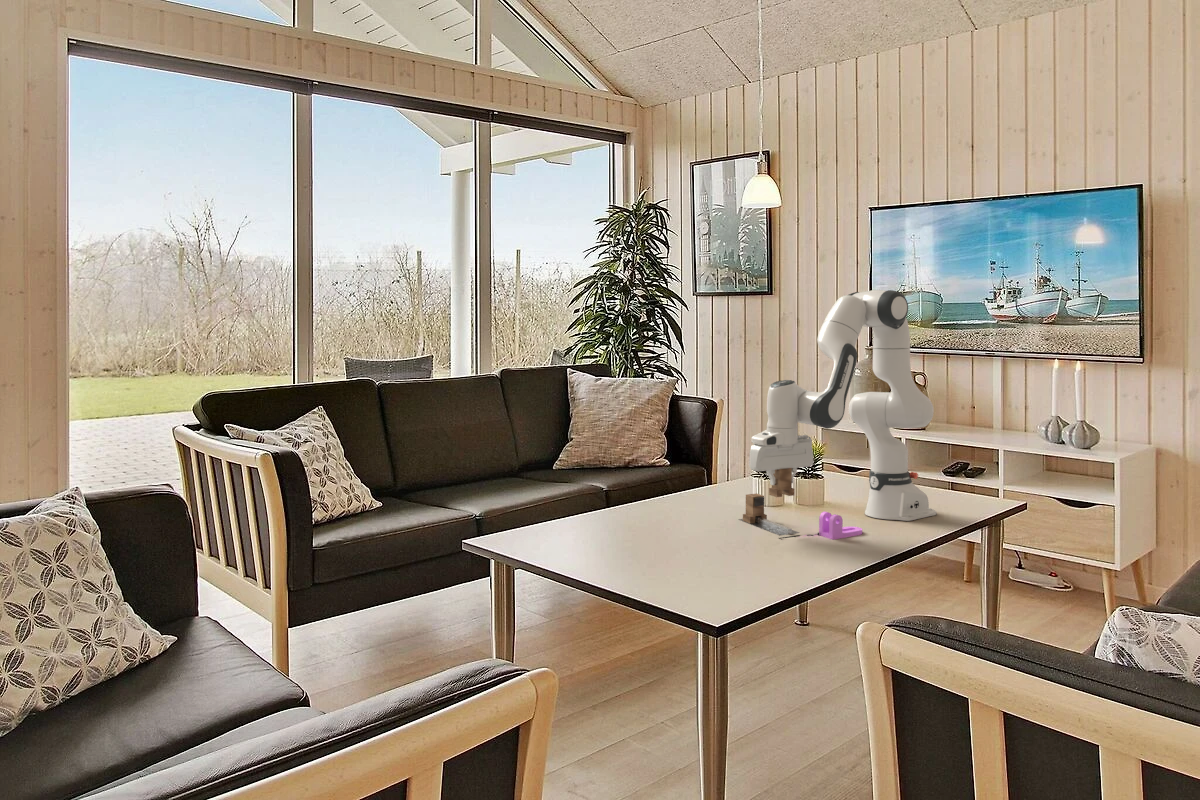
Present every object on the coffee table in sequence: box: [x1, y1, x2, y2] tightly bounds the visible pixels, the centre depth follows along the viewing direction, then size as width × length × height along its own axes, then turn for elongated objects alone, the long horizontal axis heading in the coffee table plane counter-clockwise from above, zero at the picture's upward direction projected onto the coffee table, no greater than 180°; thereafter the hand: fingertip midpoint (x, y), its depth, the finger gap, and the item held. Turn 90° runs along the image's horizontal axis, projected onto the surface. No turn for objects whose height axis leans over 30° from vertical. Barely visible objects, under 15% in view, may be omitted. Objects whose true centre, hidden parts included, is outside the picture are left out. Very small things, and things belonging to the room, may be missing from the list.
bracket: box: [818, 511, 863, 540], centre depth 258 cm, size 13×6×7 cm, turn 118°
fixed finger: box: [742, 493, 768, 524], centre depth 272 cm, size 6×5×8 cm
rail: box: [738, 516, 801, 540], centre depth 266 cm, size 7×22×2 cm, turn 23°
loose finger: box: [768, 468, 795, 498], centre depth 258 cm, size 6×5×8 cm
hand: (781, 483), depth 258 cm, fingers closed on loose finger, 4 cm apart
